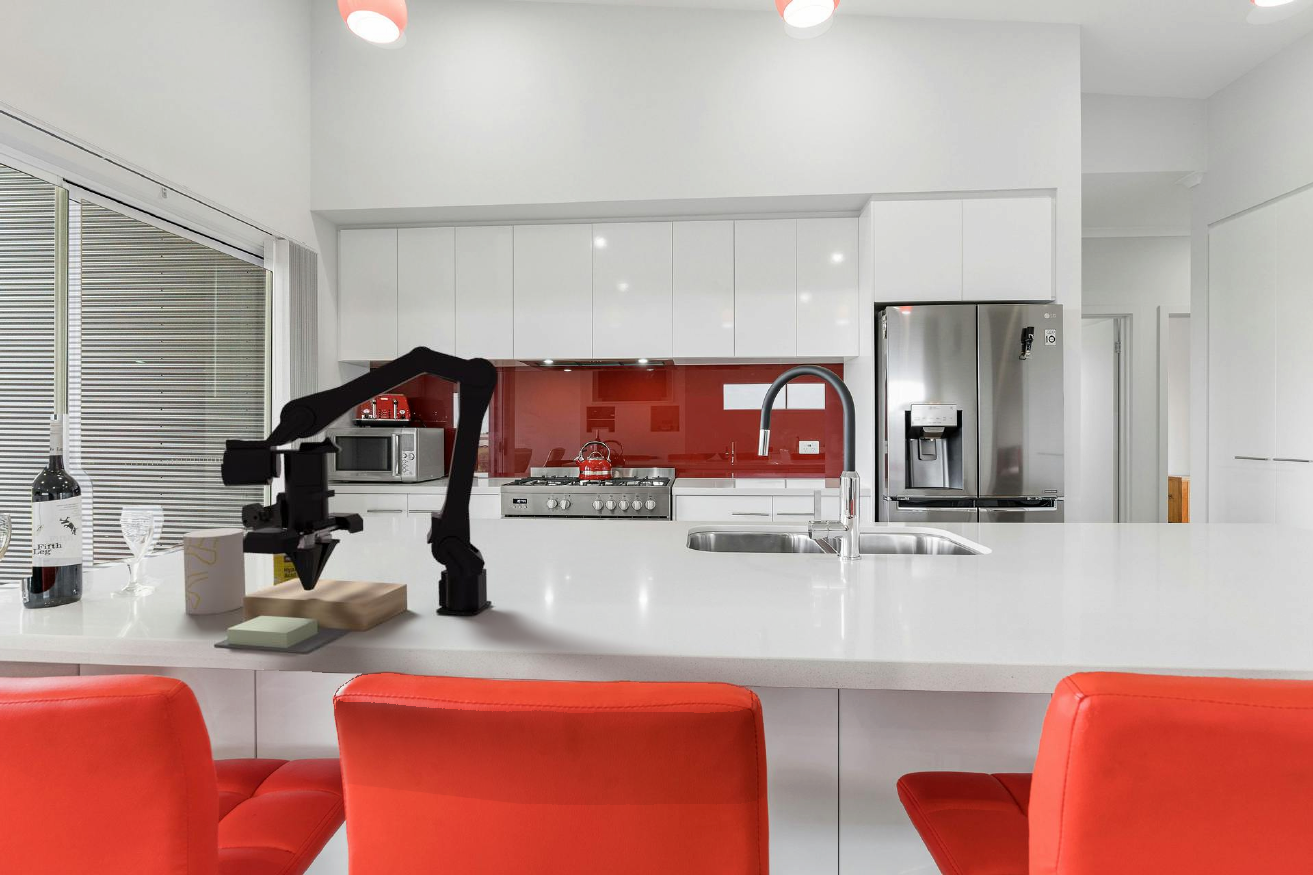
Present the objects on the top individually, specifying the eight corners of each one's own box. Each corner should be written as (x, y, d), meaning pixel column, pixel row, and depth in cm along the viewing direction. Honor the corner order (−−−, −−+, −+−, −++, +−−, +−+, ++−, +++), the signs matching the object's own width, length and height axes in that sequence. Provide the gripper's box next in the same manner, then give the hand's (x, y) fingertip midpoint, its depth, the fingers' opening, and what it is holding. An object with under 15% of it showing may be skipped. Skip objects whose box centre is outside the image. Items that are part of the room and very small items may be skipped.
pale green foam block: (286, 632, 91) (286, 647, 91) (317, 619, 97) (317, 633, 97) (227, 628, 93) (227, 643, 93) (261, 615, 99) (261, 629, 99)
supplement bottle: (282, 594, 118) (281, 537, 118) (268, 589, 122) (266, 534, 121) (314, 587, 123) (313, 532, 122) (299, 583, 126) (298, 529, 126)
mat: (350, 631, 99) (350, 629, 99) (306, 653, 90) (306, 651, 90) (264, 625, 102) (264, 623, 101) (214, 646, 93) (214, 644, 93)
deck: (407, 609, 110) (406, 583, 109) (364, 631, 99) (364, 603, 99) (296, 602, 114) (295, 578, 113) (243, 622, 103) (243, 596, 103)
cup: (174, 609, 110) (172, 534, 109) (226, 597, 117) (224, 526, 116) (204, 617, 106) (202, 539, 105) (256, 603, 113) (254, 530, 112)
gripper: (303, 476, 112) (305, 572, 113) (206, 490, 94) (209, 604, 95) (364, 478, 110) (366, 575, 111) (277, 492, 92) (280, 609, 92)
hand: (309, 589), depth 102 cm, fingers closed
